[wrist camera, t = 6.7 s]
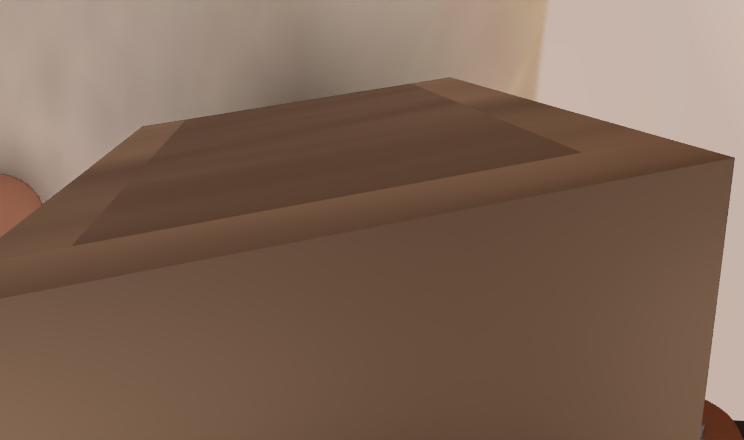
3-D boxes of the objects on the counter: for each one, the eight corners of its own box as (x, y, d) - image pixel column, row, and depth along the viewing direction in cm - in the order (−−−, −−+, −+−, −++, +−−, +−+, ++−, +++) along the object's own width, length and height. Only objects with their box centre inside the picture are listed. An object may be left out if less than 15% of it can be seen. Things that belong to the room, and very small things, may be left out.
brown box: (142, 126, 10) (-103, 318, 3) (449, 77, 11) (734, 158, 4) (255, 512, 13) (241, 960, 7) (478, 456, 14) (652, 816, 8)
